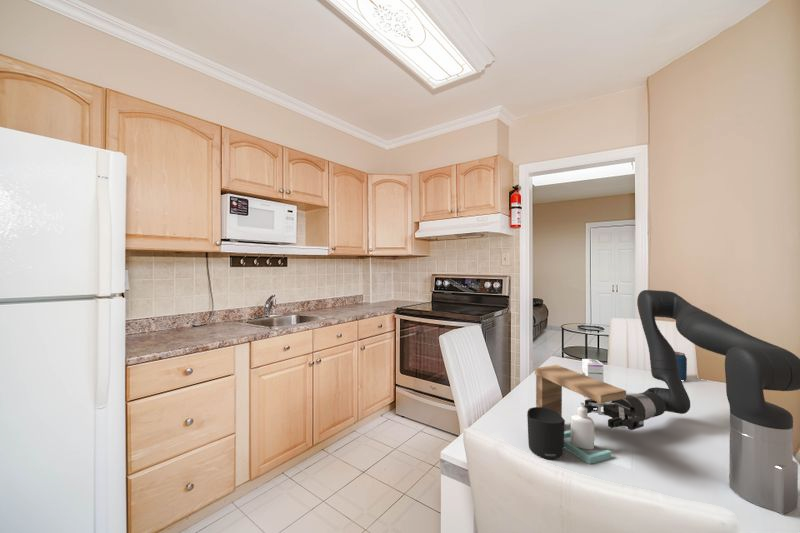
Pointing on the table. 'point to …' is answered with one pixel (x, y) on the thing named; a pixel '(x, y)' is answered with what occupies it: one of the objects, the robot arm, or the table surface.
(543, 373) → the shelf
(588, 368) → the syrup box
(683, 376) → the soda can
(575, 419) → the eye dropper bottle
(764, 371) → the robot arm
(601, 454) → the mint green tray
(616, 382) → the table surface
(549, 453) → the pen holder
